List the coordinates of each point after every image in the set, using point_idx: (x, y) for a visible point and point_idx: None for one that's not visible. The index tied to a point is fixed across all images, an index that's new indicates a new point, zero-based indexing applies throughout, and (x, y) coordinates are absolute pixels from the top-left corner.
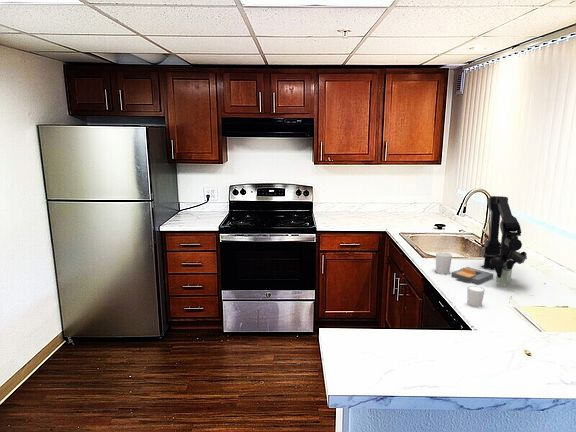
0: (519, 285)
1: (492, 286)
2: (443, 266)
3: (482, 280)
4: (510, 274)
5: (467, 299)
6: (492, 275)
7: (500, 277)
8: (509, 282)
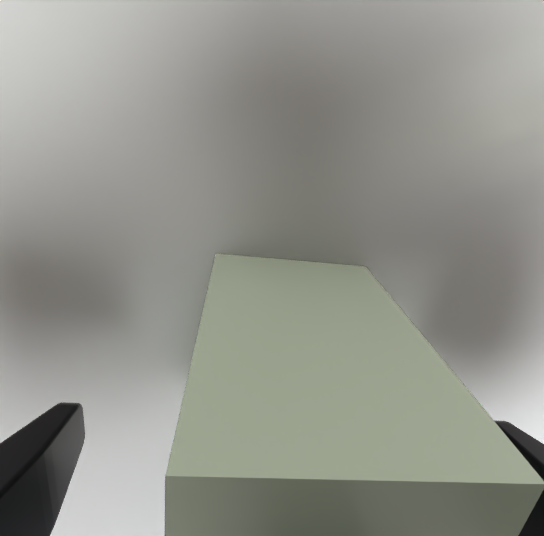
0: (200, 96)
1: (539, 368)
2: None
3: None
4: (264, 358)
5: None
6: None
7: (506, 424)
8: (258, 266)
